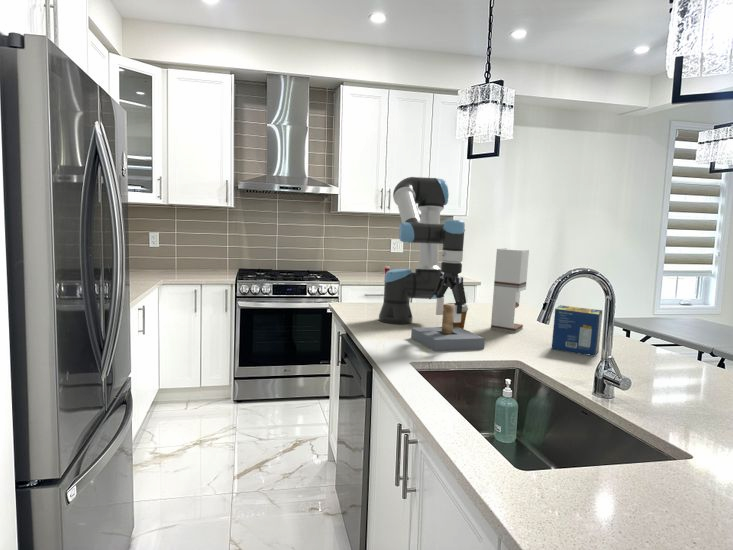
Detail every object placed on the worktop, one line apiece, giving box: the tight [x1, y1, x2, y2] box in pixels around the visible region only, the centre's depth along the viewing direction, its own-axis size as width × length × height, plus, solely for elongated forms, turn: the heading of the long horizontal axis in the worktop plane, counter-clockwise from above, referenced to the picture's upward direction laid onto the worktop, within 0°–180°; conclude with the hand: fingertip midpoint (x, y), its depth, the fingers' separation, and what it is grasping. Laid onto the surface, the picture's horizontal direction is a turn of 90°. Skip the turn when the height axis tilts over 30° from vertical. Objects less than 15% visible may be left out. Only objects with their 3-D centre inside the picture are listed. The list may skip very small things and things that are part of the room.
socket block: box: [410, 326, 486, 352], centre depth 193 cm, size 20×20×4 cm
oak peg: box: [441, 303, 454, 335], centre depth 193 cm, size 4×4×14 cm
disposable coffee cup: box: [446, 302, 469, 330], centre depth 211 cm, size 10×10×12 cm
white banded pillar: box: [490, 247, 530, 334], centre depth 223 cm, size 11×11×35 cm
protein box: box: [550, 304, 603, 356], centre depth 192 cm, size 10×15×16 cm
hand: (447, 318), depth 193 cm, fingers open, 13 cm apart
